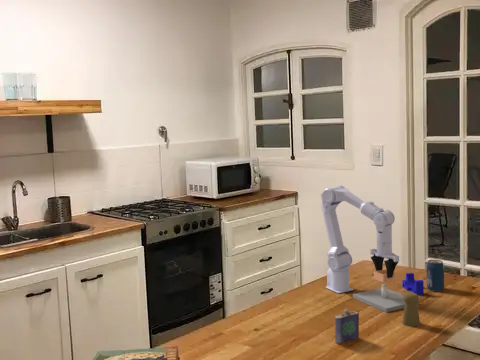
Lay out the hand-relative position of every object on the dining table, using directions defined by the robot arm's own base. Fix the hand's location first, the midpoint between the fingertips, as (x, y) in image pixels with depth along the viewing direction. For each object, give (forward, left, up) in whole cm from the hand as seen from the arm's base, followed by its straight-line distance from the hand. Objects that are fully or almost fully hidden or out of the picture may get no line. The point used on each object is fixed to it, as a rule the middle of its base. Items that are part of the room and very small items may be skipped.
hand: (384, 275), depth 219 cm
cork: (+23, -8, -11) cm, 27 cm away
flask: (+23, -36, -11) cm, 44 cm away
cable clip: (-4, +18, -11) cm, 22 cm away
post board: (0, 0, -10) cm, 10 cm away
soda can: (0, +27, -11) cm, 29 cm away
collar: (0, 0, -2) cm, 2 cm away
